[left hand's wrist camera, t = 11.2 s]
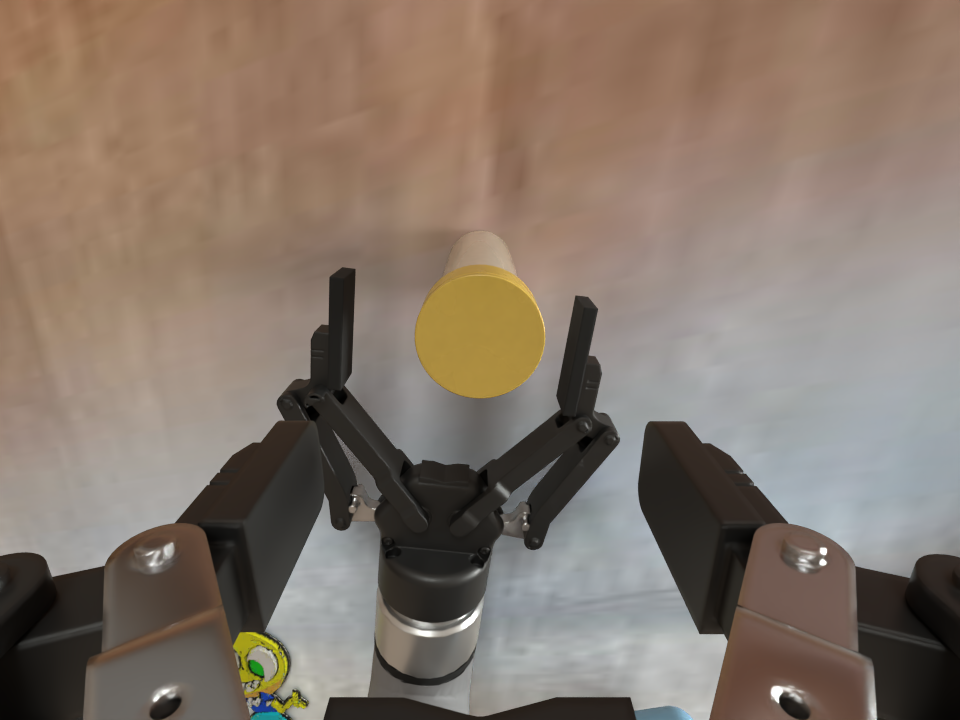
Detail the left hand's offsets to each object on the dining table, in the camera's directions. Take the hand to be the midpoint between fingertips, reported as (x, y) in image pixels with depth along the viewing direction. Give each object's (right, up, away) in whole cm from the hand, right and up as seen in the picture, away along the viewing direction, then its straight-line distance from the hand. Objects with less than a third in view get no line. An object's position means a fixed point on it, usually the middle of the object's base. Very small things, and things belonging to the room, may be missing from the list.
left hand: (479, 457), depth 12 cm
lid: (0, +3, +8) cm, 9 cm away
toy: (-21, -28, +37) cm, 51 cm away
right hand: (-1, +6, +17) cm, 18 cm away
